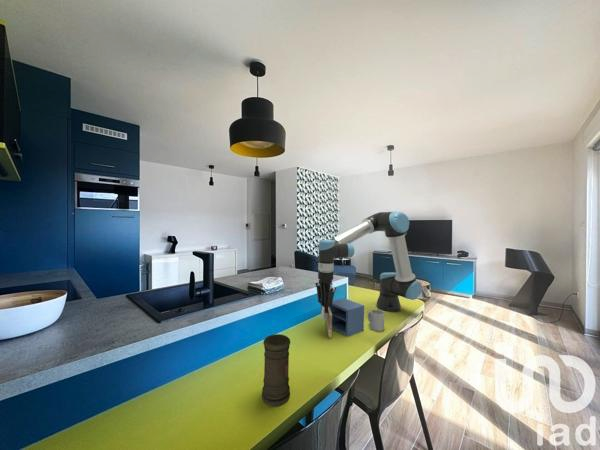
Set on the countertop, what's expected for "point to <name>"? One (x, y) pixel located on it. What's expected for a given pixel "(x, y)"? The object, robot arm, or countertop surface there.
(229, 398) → the countertop surface
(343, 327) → the cabinet
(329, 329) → the door
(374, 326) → the cup
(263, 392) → the container
